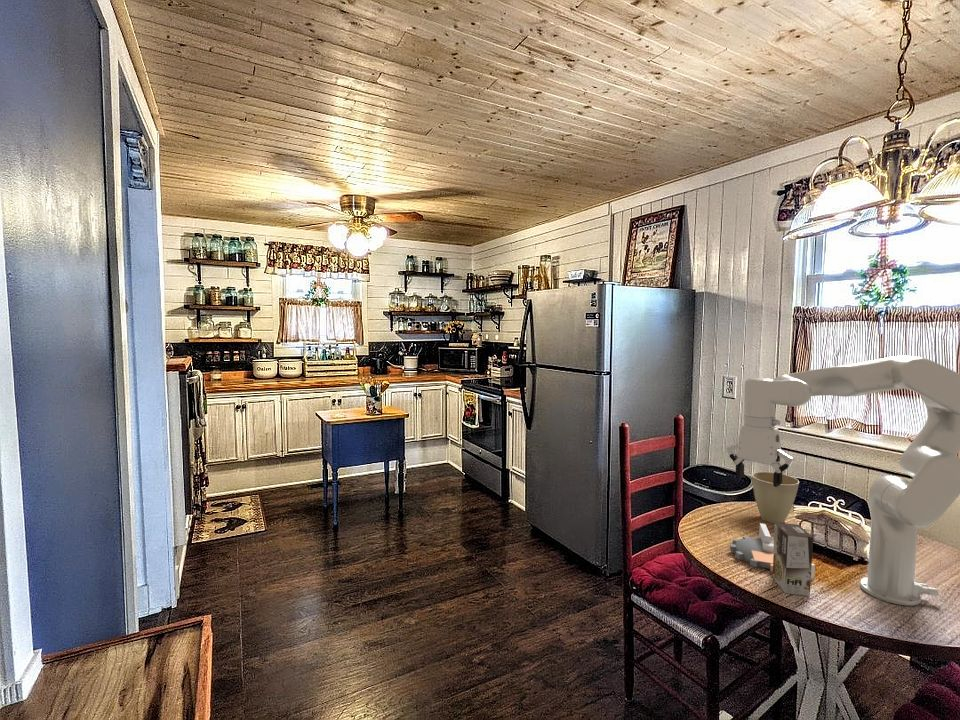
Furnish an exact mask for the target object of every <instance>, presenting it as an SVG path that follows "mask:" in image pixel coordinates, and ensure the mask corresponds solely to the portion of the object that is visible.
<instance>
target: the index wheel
mask: <svg viewBox="0 0 960 720" xmlns="http://www.w3.org/2000/svg"><path fill="white" fill-rule="evenodd" d="M758 534H759V535H758V537H750V536H749V535H746V536H742V539H738V538H733V539H732V543H729V545H730V546H729V549H730V552H732V553H733V552H734V553H735V554H734V555H735V558H736V559H738V560H744V561H746V562H749V565H750V566H752V567H755V568H757V567H761V568H766V569H769V570H770V572H773V556H774V540H772V536H771V534H770V531H769V529H768V527H767V524H766V523H761V522H759V533H758Z"/></svg>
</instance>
